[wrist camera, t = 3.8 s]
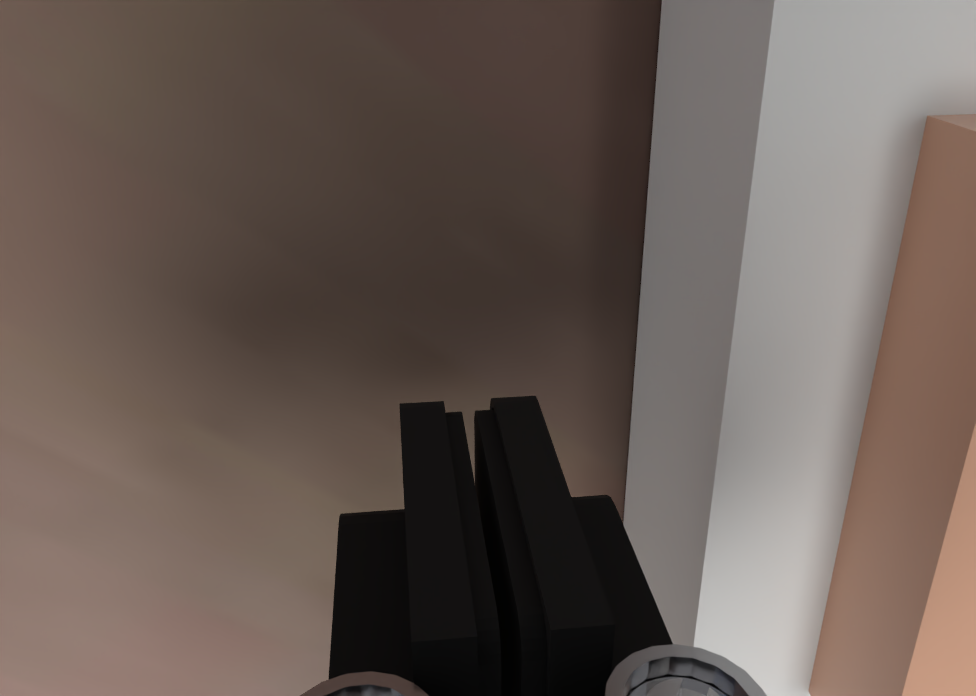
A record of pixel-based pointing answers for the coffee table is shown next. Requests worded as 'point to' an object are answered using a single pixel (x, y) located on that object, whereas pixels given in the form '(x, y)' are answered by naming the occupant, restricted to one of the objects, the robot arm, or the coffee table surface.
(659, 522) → the white flat block
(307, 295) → the coffee table surface
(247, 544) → the coffee table surface
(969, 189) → the tile
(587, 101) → the coffee table surface
